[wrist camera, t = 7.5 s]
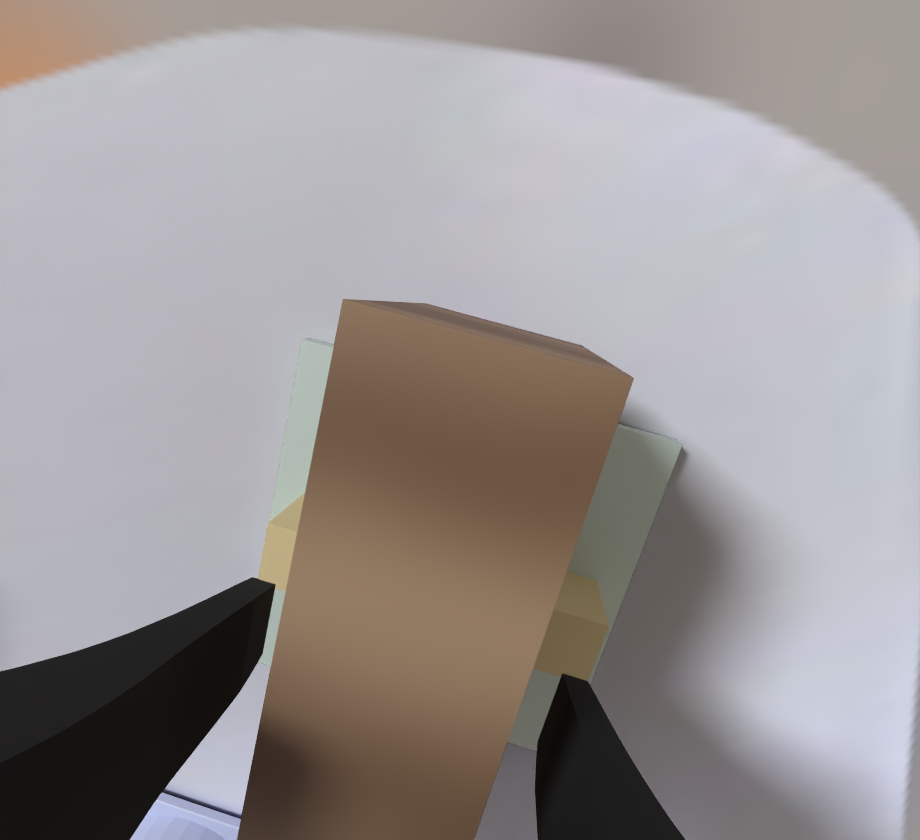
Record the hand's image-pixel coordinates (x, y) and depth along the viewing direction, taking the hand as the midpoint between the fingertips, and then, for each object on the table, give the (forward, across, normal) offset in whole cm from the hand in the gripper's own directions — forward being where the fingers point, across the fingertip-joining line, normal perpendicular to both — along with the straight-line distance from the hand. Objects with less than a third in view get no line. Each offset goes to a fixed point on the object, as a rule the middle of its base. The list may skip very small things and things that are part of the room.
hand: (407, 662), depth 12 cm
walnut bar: (+2, 0, 0) cm, 3 cm away
